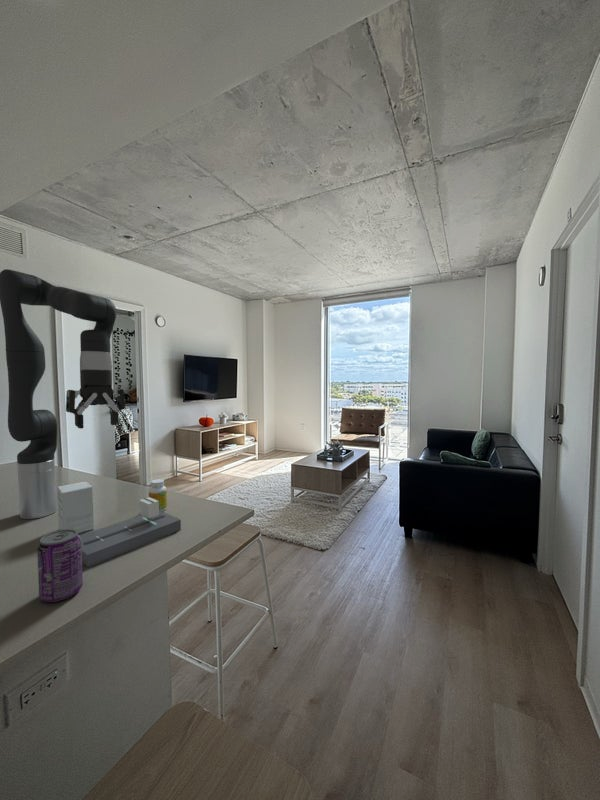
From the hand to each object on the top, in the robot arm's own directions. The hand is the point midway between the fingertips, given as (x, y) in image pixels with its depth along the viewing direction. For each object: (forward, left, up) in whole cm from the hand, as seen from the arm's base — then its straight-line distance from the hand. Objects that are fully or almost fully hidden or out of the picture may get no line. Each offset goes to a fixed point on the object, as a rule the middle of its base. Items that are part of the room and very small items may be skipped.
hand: (97, 426), depth 92 cm
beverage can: (+24, -17, -30) cm, 42 cm away
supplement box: (-6, -4, -30) cm, 31 cm away
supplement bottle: (-1, +18, -30) cm, 35 cm away
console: (+12, +2, -30) cm, 32 cm away
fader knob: (+12, +8, -26) cm, 30 cm away
